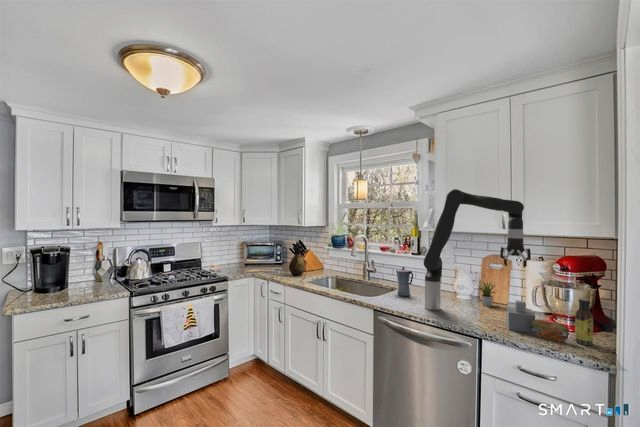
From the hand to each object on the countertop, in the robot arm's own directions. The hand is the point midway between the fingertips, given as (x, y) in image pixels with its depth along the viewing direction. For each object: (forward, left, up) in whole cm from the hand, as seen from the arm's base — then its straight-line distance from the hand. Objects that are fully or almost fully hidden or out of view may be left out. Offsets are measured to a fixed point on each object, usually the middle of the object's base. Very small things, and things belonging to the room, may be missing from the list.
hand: (515, 266), depth 174 cm
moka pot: (-57, -42, -30) cm, 77 cm away
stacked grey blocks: (+11, -5, -30) cm, 32 cm away
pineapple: (-134, -118, -30) cm, 181 cm away
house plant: (-30, +5, -30) cm, 43 cm away
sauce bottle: (+31, +11, -30) cm, 45 cm away
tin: (+25, -1, -30) cm, 39 cm away
